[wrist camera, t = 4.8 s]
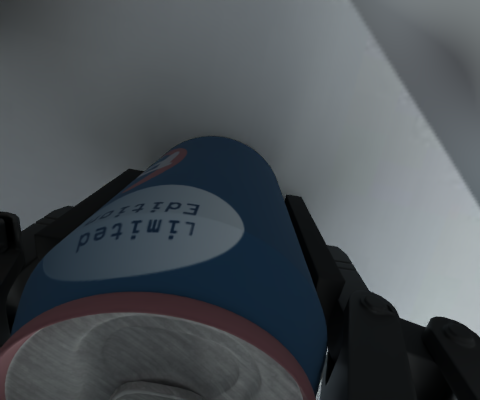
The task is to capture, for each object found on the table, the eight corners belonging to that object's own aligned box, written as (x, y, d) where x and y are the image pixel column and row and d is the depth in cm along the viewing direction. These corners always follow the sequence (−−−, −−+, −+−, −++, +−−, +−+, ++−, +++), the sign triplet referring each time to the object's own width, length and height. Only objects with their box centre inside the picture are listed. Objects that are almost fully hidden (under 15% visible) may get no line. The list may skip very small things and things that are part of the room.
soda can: (166, 116, 14) (-101, 211, 3) (294, 152, 15) (442, 335, 4) (146, 231, 17) (-42, 510, 6) (257, 258, 17) (281, 558, 6)
